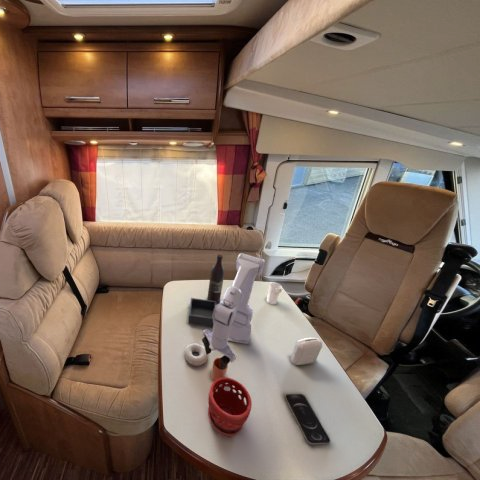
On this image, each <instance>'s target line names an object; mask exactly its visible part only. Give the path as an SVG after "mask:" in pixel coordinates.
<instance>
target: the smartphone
mask: <svg viewBox="0 0 480 480" xmlns="http://www.w3.org/2000/svg"><path fill="white" fill-rule="evenodd" d="M284 398H285V401H286V403H287V406H288V407H289V409H290V411H291V413H292V414H293V417H294V419H295V422H296V423H297V425H298V427H299V430H300V431H301V433H302V435H303V437H304V439H305V441H306V442H307V443H308V444H309V445H314V446H315V445H330V443H331V439H330V437H329V435H328V434H327V431H326V430H325V428H324V426H323V425H322V423H321V422H320V420H319V418H318V417H317V415H316V413H315V411H314V409H313V408H312V406H311V404H310V402H309V401H308V399H307V398H306V395H304V394H302V393H292V394H291V393H289V394H288V393H287V394H285V396H284Z"/></svg>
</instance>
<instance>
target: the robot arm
mask: <svg viewBox="0 0 480 480" xmlns="http://www.w3.org/2000/svg"><path fill="white" fill-rule="evenodd" d="M265 265H266V261H265V259H264V258H260V257H256V256H253V255H250V254H246V253H243V252H241V253H239V254H238V256H237V258H236V261H235V267H236V268H235V269H236V271H237V273H236V275H235V277H234V279H233V283H232V285H231V286H229V287H227V289H226V290H225V292H224V294H223V296H222V298H221V299H220V303H219V304H217V305H216V306H215V308H214V311H213V315H212V318H213V323H214V325H213V327H212V331H210V330H209V329H208V328H206V329H204V330H203V331H202V335H203V336H204V337H202V339H201V342H202V344H203V347H204V348H205V350H206V354H207V355H208V356H209V355H210V354H211V353H212V351H213V352H214V351H216V352H218V353H220V354H221V355H222V356H221V357H219V358H220V360H221V367H220V368H221V370H223V369H225V368H226V366H227V364H228V365H229V364H230V363H234V362H235V361H236V360H237V355H236V354H235V353H234V352H233V350H232V349H231V347H230V345H229V343H228V342H233V343H241V344H247V345H248V344H249V343H250V337H251V333H252V320H253V314H254V310H253V308H252V307H251V306H250V305H249V303H250V298H251V294H252V290H253V286H254V284H255V279H256V277H257V276H262V275H263V272H264V270H265V269H264V268H265Z"/></svg>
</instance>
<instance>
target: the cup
mask: <svg viewBox="0 0 480 480" xmlns="http://www.w3.org/2000/svg"><path fill="white" fill-rule="evenodd" d="M282 290H283V286H282V284H280V283H278V282H274V281H273V282H272V281H271V282H270V283H269V285H268V291H267V297H266V302H267V303H268V304H270V305H276V304H277V302H278V299H279V296H280V294H281V292H282Z"/></svg>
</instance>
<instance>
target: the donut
mask: <svg viewBox="0 0 480 480" xmlns="http://www.w3.org/2000/svg"><path fill="white" fill-rule="evenodd" d="M183 353H184V354H183V356H184V358H185V360H186V361H187V362H188V363H189V364H190V365H193V366H202V365H203V364H205V363H206V362H207V361H208V356H209V354H208V355H207V354H206V350H205V346H204V345H202V344H200V343H190V344H188V345H187V346H186V347H185V348H184V351H183ZM193 353H198V354H199V355H197V356H196V355H194V354H193Z"/></svg>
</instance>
